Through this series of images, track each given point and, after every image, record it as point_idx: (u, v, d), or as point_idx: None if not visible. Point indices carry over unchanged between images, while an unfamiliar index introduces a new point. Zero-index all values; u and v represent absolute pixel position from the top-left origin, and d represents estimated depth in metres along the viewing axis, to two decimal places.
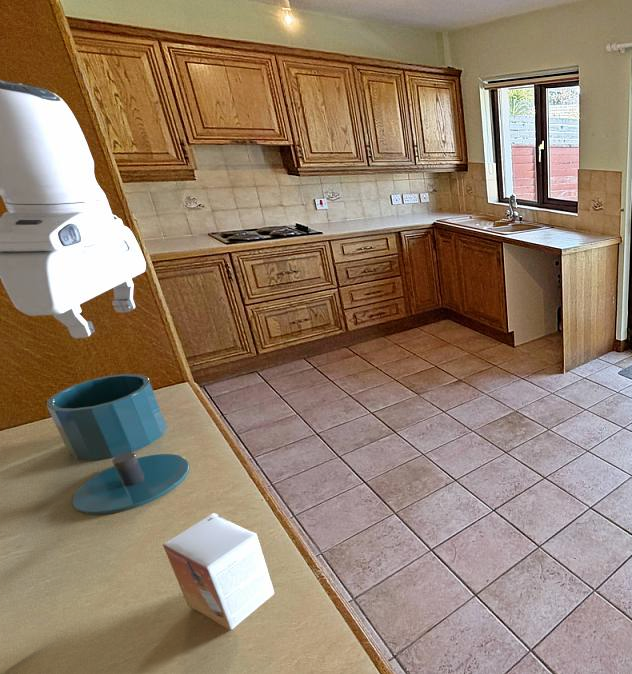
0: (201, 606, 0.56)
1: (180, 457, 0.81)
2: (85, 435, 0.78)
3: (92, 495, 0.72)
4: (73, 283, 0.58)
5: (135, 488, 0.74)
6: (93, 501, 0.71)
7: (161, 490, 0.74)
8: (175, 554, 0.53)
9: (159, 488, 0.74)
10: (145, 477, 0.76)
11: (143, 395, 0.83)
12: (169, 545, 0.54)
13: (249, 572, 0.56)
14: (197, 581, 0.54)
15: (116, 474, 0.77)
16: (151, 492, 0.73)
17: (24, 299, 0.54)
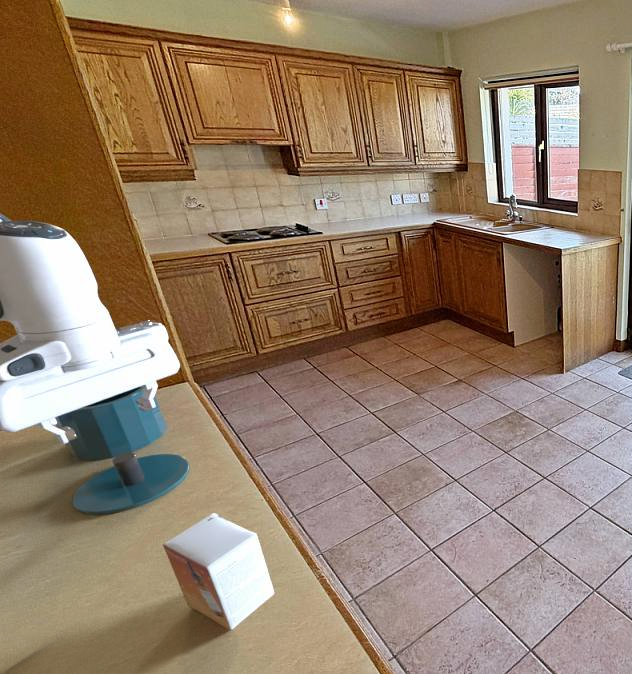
0: (201, 606, 0.56)
1: (180, 457, 0.81)
2: (85, 435, 0.78)
3: (92, 495, 0.72)
4: (40, 402, 0.63)
5: (135, 488, 0.74)
6: (93, 501, 0.71)
7: (161, 490, 0.74)
8: (175, 554, 0.53)
9: (159, 488, 0.74)
10: (145, 477, 0.76)
11: None
12: (169, 545, 0.54)
13: (249, 572, 0.56)
14: (197, 581, 0.54)
15: (116, 474, 0.77)
16: (151, 492, 0.73)
17: None
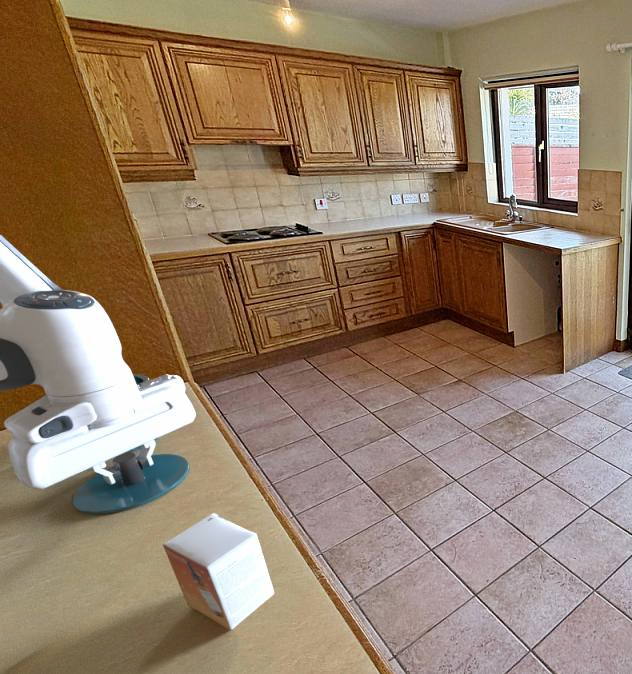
0: (201, 606, 0.56)
1: (180, 457, 0.81)
2: None
3: (92, 495, 0.72)
4: (67, 459, 0.66)
5: (135, 488, 0.74)
6: (93, 501, 0.71)
7: (161, 490, 0.74)
8: (175, 554, 0.53)
9: (159, 488, 0.74)
10: (145, 477, 0.76)
11: None
12: (169, 545, 0.54)
13: (249, 572, 0.56)
14: (197, 581, 0.54)
15: None
16: (151, 492, 0.73)
17: (18, 475, 0.64)
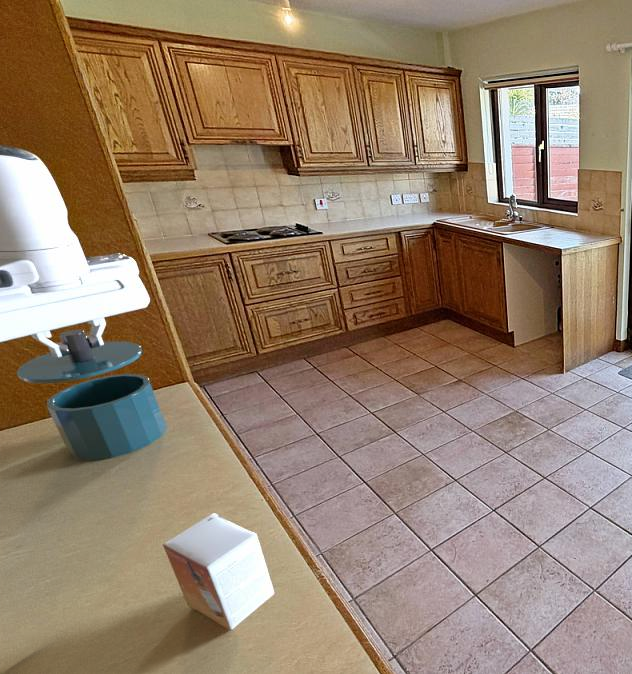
0: (201, 606, 0.56)
1: (134, 344, 0.80)
2: (85, 435, 0.78)
3: (38, 368, 0.71)
4: (8, 320, 0.65)
5: (83, 364, 0.73)
6: (38, 372, 0.70)
7: (109, 366, 0.73)
8: (175, 554, 0.53)
9: (107, 365, 0.73)
10: (95, 357, 0.75)
11: (143, 395, 0.83)
12: (169, 545, 0.54)
13: (249, 572, 0.56)
14: (197, 581, 0.54)
15: None
16: (99, 367, 0.72)
17: None
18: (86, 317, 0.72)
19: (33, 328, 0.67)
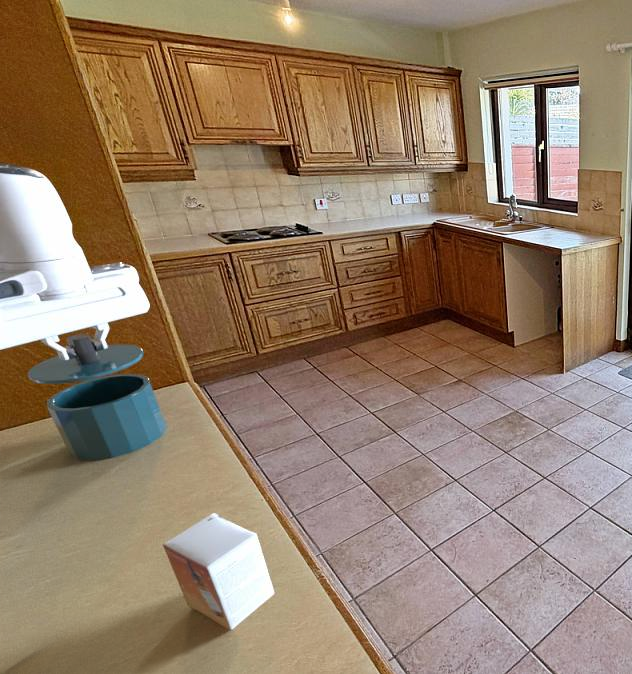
0: (201, 606, 0.56)
1: (135, 347, 0.85)
2: (85, 435, 0.78)
3: (47, 370, 0.76)
4: (19, 326, 0.70)
5: (89, 366, 0.78)
6: (47, 374, 0.75)
7: (113, 368, 0.78)
8: (175, 554, 0.53)
9: (111, 366, 0.78)
10: (99, 359, 0.80)
11: (143, 395, 0.83)
12: (169, 545, 0.54)
13: (249, 572, 0.56)
14: (197, 581, 0.54)
15: None
16: (103, 369, 0.77)
17: None
18: (91, 322, 0.78)
19: (42, 333, 0.73)
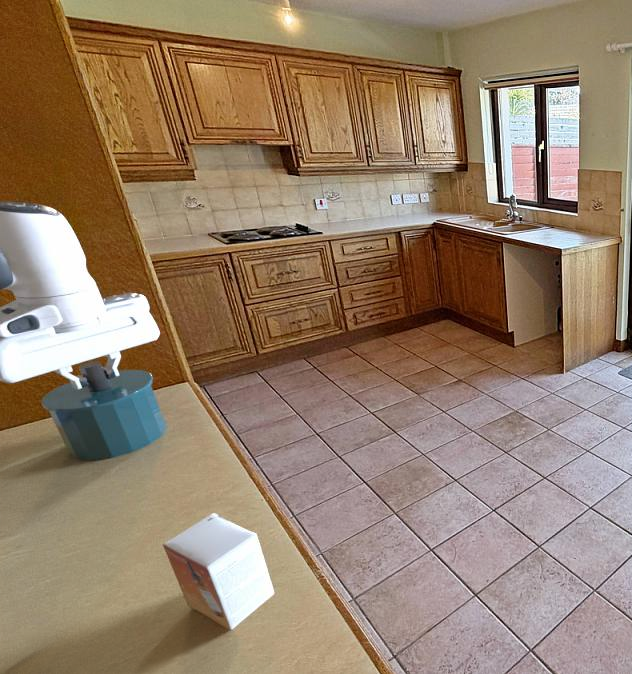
0: (201, 606, 0.56)
1: (145, 372, 0.87)
2: (85, 435, 0.78)
3: (60, 397, 0.78)
4: (35, 358, 0.73)
5: (100, 393, 0.80)
6: (60, 402, 0.77)
7: (124, 395, 0.80)
8: (175, 554, 0.53)
9: (123, 393, 0.80)
10: (111, 386, 0.82)
11: (143, 395, 0.83)
12: (169, 545, 0.54)
13: (249, 572, 0.56)
14: (197, 581, 0.54)
15: None
16: (115, 396, 0.80)
17: None
18: (103, 352, 0.80)
19: (57, 364, 0.75)
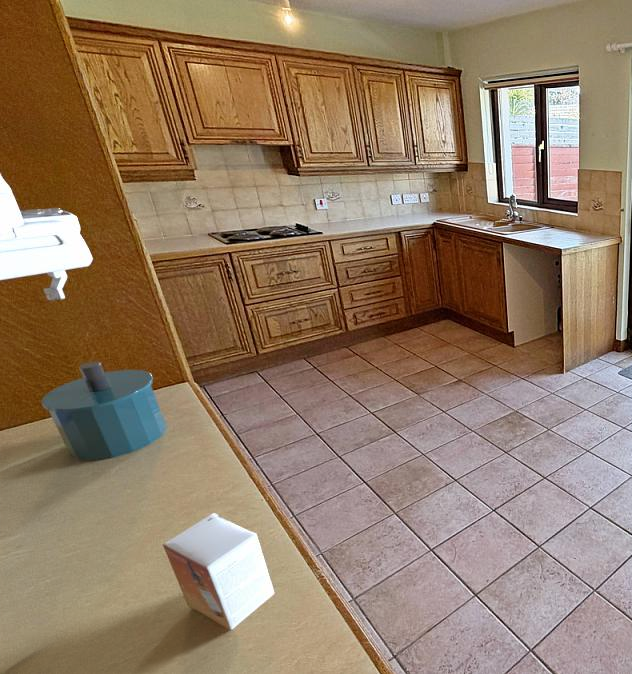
0: (201, 606, 0.56)
1: (145, 372, 0.87)
2: (85, 435, 0.78)
3: (60, 397, 0.78)
4: None
5: (100, 393, 0.80)
6: (60, 402, 0.77)
7: (124, 395, 0.80)
8: (175, 554, 0.53)
9: (123, 393, 0.80)
10: (111, 386, 0.82)
11: (143, 395, 0.83)
12: (169, 545, 0.54)
13: (249, 572, 0.56)
14: (197, 581, 0.54)
15: (84, 383, 0.83)
16: (115, 396, 0.80)
17: None
18: (20, 272, 0.70)
19: None
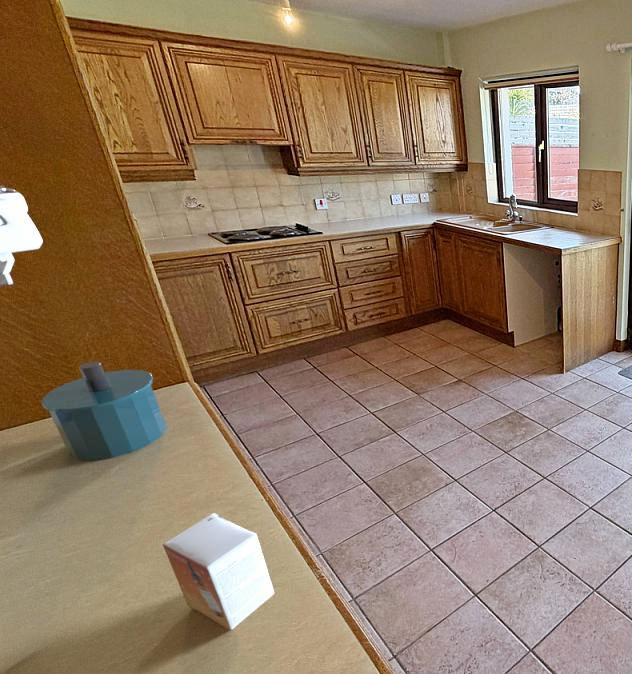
0: (201, 606, 0.56)
1: (145, 372, 0.87)
2: (85, 435, 0.78)
3: (60, 397, 0.78)
4: None
5: (100, 393, 0.80)
6: (60, 402, 0.77)
7: (124, 395, 0.80)
8: (175, 554, 0.53)
9: (123, 393, 0.80)
10: (111, 386, 0.82)
11: (143, 395, 0.83)
12: (169, 545, 0.54)
13: (249, 572, 0.56)
14: (197, 581, 0.54)
15: (84, 383, 0.83)
16: (115, 396, 0.80)
17: None
18: None
19: None
